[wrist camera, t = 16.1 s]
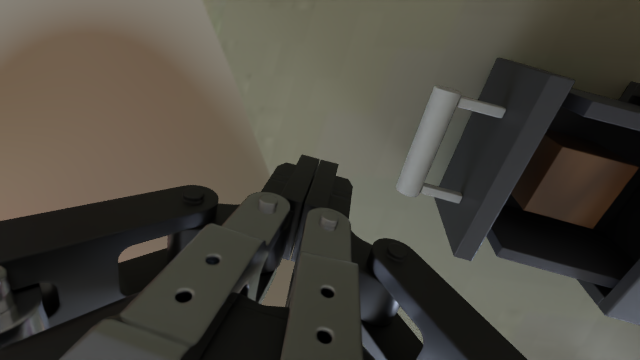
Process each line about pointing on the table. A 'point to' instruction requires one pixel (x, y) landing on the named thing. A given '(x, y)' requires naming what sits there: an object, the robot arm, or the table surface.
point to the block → (572, 179)
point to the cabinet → (636, 286)
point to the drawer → (509, 163)
